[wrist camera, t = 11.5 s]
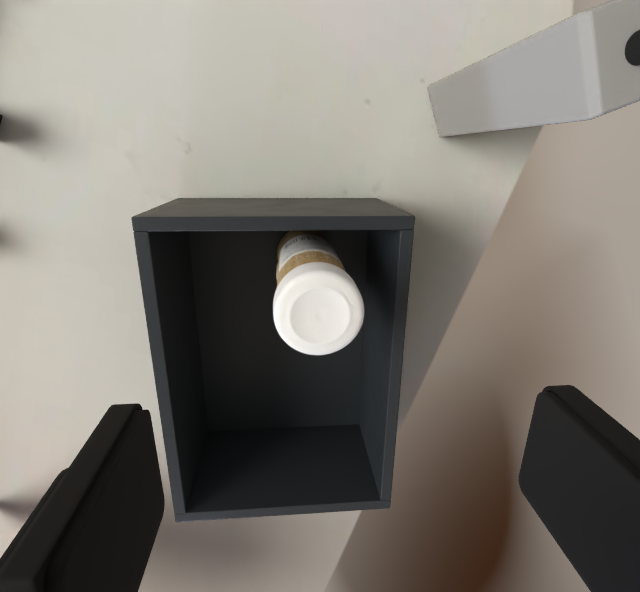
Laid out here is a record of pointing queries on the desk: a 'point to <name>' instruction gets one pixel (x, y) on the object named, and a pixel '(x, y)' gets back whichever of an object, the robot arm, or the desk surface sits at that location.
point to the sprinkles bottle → (314, 295)
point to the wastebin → (271, 357)
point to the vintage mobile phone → (548, 75)
